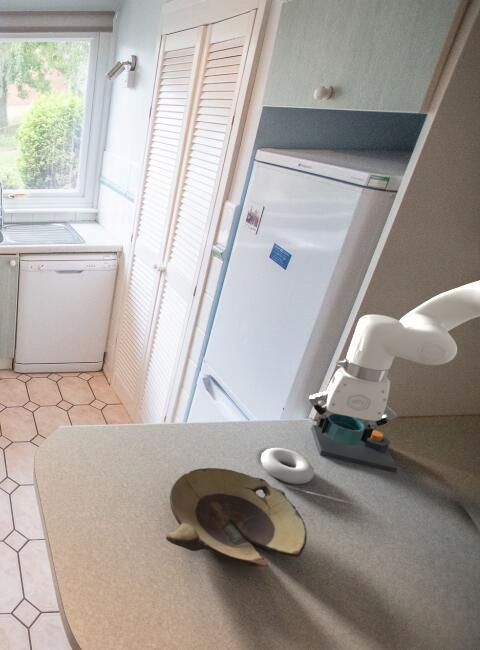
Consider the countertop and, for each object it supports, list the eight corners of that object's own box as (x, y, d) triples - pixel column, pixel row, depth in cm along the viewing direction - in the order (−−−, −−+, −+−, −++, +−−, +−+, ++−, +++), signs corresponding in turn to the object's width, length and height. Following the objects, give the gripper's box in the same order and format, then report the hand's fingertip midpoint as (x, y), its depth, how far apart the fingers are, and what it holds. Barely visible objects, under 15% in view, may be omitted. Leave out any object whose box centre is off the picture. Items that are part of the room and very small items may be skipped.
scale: (381, 443, 110) (385, 433, 109) (397, 473, 101) (401, 463, 100) (310, 428, 116) (314, 418, 115) (319, 455, 107) (323, 445, 106)
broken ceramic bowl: (335, 570, 80) (348, 539, 77) (175, 592, 77) (182, 561, 74) (247, 479, 100) (255, 451, 98) (119, 493, 97) (122, 465, 94)
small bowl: (354, 432, 109) (360, 417, 107) (363, 450, 103) (369, 434, 102) (319, 425, 112) (324, 409, 110) (325, 442, 106) (330, 426, 105)
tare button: (379, 436, 109) (381, 431, 108) (382, 443, 107) (385, 437, 106) (365, 433, 110) (367, 428, 109) (368, 440, 108) (370, 434, 107)
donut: (275, 451, 109) (249, 464, 105) (279, 439, 108) (253, 452, 103) (321, 478, 101) (295, 493, 96) (325, 465, 99) (299, 480, 95)
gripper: (320, 368, 101) (299, 433, 108) (422, 386, 94) (393, 454, 101) (314, 354, 107) (295, 416, 114) (409, 369, 100) (383, 435, 107)
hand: (341, 433), depth 107 cm, fingers closed on small bowl, 7 cm apart
